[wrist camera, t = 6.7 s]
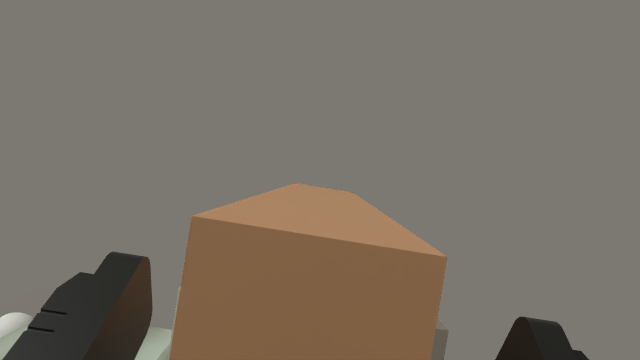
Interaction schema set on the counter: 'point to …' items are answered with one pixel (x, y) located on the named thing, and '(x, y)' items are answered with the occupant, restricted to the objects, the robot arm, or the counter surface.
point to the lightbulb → (13, 322)
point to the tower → (149, 355)
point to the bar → (306, 282)
